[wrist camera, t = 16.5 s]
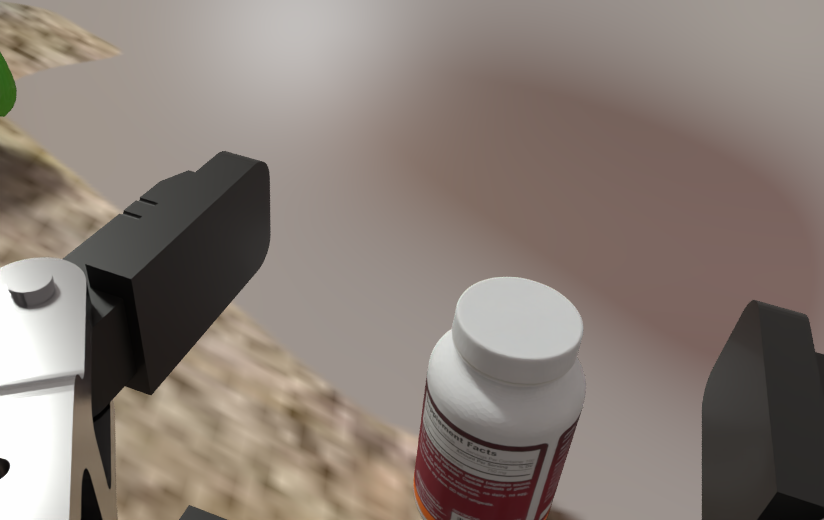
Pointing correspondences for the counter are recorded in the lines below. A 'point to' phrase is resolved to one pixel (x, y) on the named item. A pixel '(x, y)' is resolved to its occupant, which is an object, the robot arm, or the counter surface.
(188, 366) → the counter surface
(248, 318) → the counter surface
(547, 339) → the pill bottle
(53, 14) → the counter surface
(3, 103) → the snack cup
